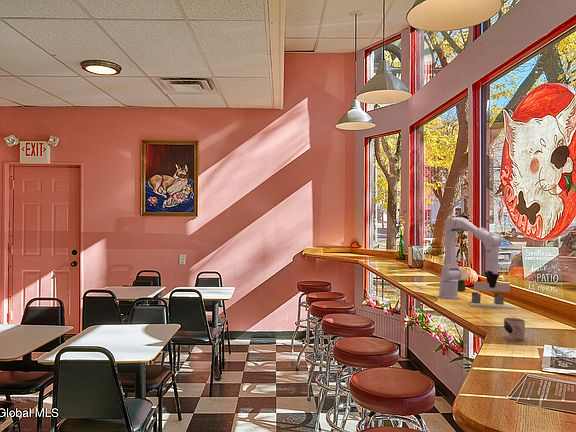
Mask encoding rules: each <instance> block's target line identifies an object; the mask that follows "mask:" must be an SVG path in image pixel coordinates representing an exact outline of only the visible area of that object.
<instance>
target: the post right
mask: <svg viewBox="0 0 576 432" xmlns="http://www.w3.org/2000/svg"><path fill="white" fill-rule="evenodd" d="M493 296H494V297H493V300H494V301H493V302H494V303H493V304H500V305H505V304H504V302H505V300H504V299H505V297H504V296H505V295H504V294H502V293H495V292H494V295H493Z"/></svg>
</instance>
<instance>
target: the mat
mask: <svg viewBox="0 0 576 432" xmlns="http://www.w3.org/2000/svg"><path fill="white" fill-rule="evenodd" d="M468 305H469V307H471V308H472V307H473V308H475V307H476V308H492V309H493V308H495V309H509V310H516V307H515V306H514V305H511V304H504V305H500V304H495V303H481V302H480V303H473V302H468Z"/></svg>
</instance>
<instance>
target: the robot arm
mask: <svg viewBox="0 0 576 432" xmlns="http://www.w3.org/2000/svg"><path fill="white" fill-rule="evenodd" d="M462 230H467V231H468V232H471V233H472V234H474V238H476V239H477V240H479V241H480V242H482V243H483V245H484V248H485V271H484V276H485V277H486V282H489V284H490V288H495V286H496V282H497V281H498V279H499V277H500V273H499V271H501V270H502V269H501V268H499V255H500V254H499V249H500V248H499V247H500V246H501V245H502V238H501V237H500V236H499V235H498V234H496V235H495V234H493V233H492V232H489V231H488V230H486V228H485V227H477V226H476V225H474V224H473V223H472V222H470V221H469V220H468V219H467V218H466V217H463V216H461V217H455V216H448V218H447V219H446V220H445V221H444V253H445V254H444V255H445V256H444V257H445V263H444V264H443V265H442V266H441V271H440V277H441V280H440V281H439V287H438V288H439V292H438V294H439V295H438V296H439V298H441V299H455V300H458V299H460V297H459V296H458V291H459V290H458V281H459V279H460V278H461V272H460V269H461V267H460V265H458V263H457V252H456V251H457V249H456V235H457V234H458V232H460V231H462ZM497 283H498V282H497Z"/></svg>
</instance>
